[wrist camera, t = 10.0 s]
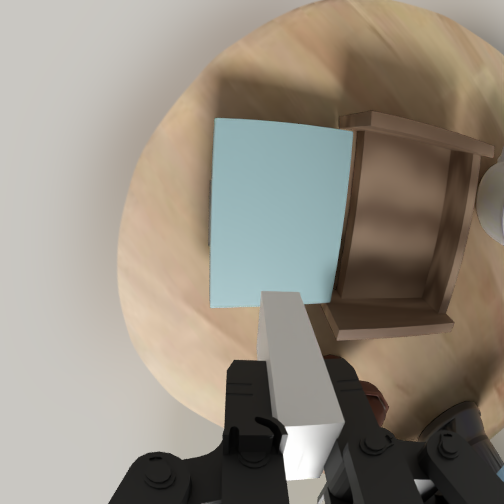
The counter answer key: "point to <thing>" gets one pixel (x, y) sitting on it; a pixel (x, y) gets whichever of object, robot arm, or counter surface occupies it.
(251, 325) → the counter surface
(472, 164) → the drawer box
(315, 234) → the pale blue slab
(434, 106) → the counter surface
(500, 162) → the teacup
